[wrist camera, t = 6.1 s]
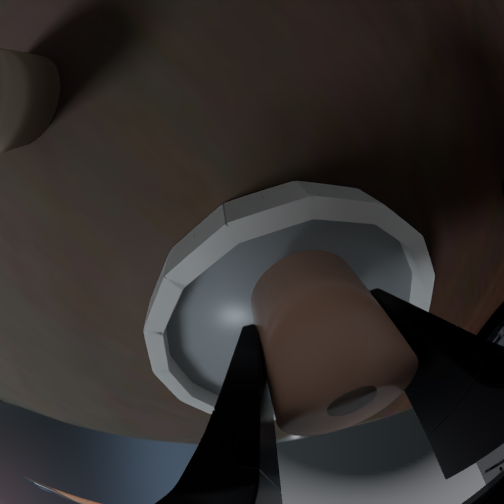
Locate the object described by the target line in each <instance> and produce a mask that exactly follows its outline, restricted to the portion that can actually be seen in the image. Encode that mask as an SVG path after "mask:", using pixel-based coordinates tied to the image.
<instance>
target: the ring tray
mask: <svg viewBox="0 0 504 504" xmlns="http://www.w3.org/2000/svg"><path fill="white" fill-rule="evenodd" d="M307 250H323V251H329V252H331V253H334V254H336V255H338V256H340V257H341V258H343V259H344V260H345V261H346V262H347V263H348V265H349V266H350V267H351V268H352V270H353V271H354V272H355V273H356V275H357V276H358V277H359V278H360V280H361V281H362V282H363V283H364V285H365V286H366V287H367V289H368V290H372V289H375V288H379V289H381V290H384V291H386V292H388V293H390V294H392V295H394V296H396V297H398V298H400V299H402V300H405V301H407V302H409V303H411V304H413V305H415V306H417V307H419V308H421V309H423V310H425V311H427V312H429V307H430V302H431V297H432V291H433V285H434V279H435V274H434V270H433V267H432V263H431V260H430V256H429V253H428V250H427V247H426V244H425V241H424V238H423V236H422V235H421V234H420V233H419V232H418V231H416V230H415V229H414V228H413V227H412V226H410V225H409V224H408V223H407V222H406V221H404V220H403V219H402V218H401V217H399V216H398V215H397V214H396V213H394V212H393V211H392V210H390V209H389V208H388V207H387V206H385V205H384V204H382V203H381V202H379V201H378V200H376V199H374V198H373V197H371V196H370V195H368V194H366V193H365V192H363V191H361V190H360V189H358V188H351V187H344V186H337V185H329V184H322V183H313V182H305V181H291V182H288V183H285V184H281V185H278V186H275V187H271V188H268V189H265V190H262V191H259V192H256V193H252V194H249V195H246V196H243V197H240V198H237V199H234V200H231V201H228V202H225V203H224V205H223V204H222V205H220V206H219V207H218V208H217V209H216V210H214V211H213V212H212V213H211V214H210V215H209V216H208V217H206V218H205V219H204V220H203V221H202V222H201V223H200V224H198V225H197V226H196V227H195V228H194V229H193V230H192V231H190V232H189V233H188V234H187V235H186V236H185V237H184V238H183V239H181V240H180V241H179V242H178V243H177V244H176V245H175V246H174V247H173V248H172V249H171V250H170V252H169V254H168V257H167V259H166V261H165V264H164V266H163V269H162V271H161V274H160V276H159V279H158V281H157V284H156V286H155V289H154V292H153V294H152V297H151V300H150V304H149V308H148V312H147V316H146V321H145V325H144V330H143V332H144V336H145V341H146V345H147V350H148V354H149V358H150V362H151V366H152V370H153V373H154V374H155V375H156V376H157V377H158V378H159V379H160V380H161V381H162V382H163V383H164V384H165V386H166V387H167V388H168V389H169V390H170V391H171V392H172V393H173V394H174V395H175V396H176V397H177V398H178V399H179V400H181V401H182V402H184V403H187V404H189V405H191V406H193V407H195V408H198V409H200V410H202V411H205V412H207V413H209V414H212V412H213V410H214V407H215V404H216V401H217V398H218V395H219V393H220V390H221V387H222V384H223V381H224V379H225V376H226V373H227V370H228V367H229V364H230V361H231V359H232V356H233V353H234V350H235V347H236V344H237V341H238V338H239V336H240V333H241V330H242V327H243V326H246V325H250V324H254V321H253V316H252V311H251V296H252V292H253V289H254V287H255V285H256V283H257V282H258V280H259V279H260V277H261V276H262V275H263V274H264V273H265V271H266V270H268V269H269V268H270V267H271V266H272V265H274V264H275V263H276V262H278V261H279V260H281V259H283V258H285V257H287V256H289V255H291V254H294V253H298V252H301V251H307ZM273 415H274V420H276V418H275V414H274V410H273Z"/></svg>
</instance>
